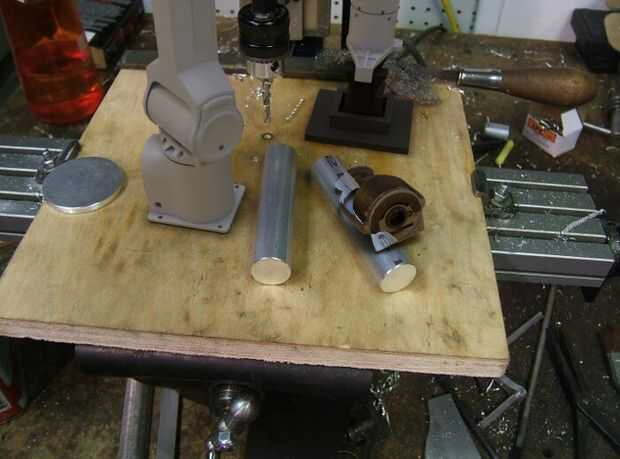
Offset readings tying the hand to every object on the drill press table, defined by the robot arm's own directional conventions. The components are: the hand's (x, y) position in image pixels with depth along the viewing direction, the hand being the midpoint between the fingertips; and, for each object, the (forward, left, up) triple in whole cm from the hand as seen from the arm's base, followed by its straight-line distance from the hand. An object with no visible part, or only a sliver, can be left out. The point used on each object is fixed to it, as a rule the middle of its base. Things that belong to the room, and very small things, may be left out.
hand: (363, 102), depth 77 cm
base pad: (0, 0, -3) cm, 3 cm away
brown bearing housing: (+4, -18, -3) cm, 19 cm away
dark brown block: (0, 0, -2) cm, 2 cm away
